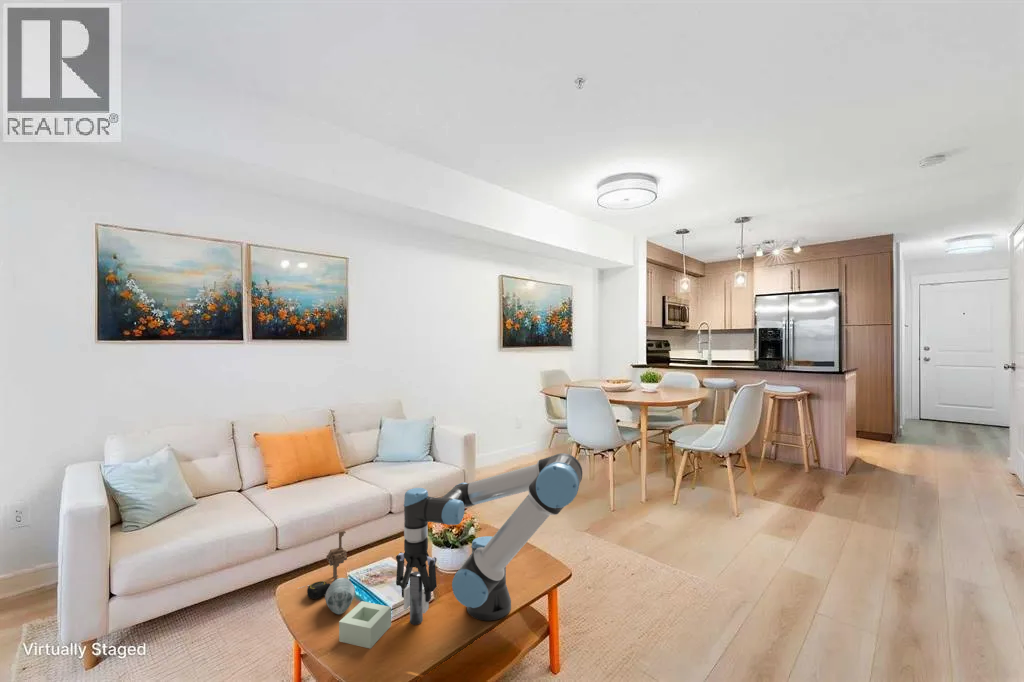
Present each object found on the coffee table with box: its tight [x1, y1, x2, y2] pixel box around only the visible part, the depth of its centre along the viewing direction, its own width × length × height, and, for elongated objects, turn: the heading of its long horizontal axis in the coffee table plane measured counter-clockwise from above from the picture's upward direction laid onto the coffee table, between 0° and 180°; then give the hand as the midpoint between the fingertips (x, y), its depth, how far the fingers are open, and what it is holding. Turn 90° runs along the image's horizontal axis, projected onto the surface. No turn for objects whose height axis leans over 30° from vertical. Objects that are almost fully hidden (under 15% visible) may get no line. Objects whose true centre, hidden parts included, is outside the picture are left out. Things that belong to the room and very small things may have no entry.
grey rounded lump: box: [324, 577, 356, 615], centre depth 150 cm, size 14×10×10 cm
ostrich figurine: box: [297, 530, 348, 589], centre depth 166 cm, size 17×7×18 cm, turn 121°
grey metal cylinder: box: [409, 571, 424, 626], centre depth 143 cm, size 4×4×15 cm
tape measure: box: [307, 580, 332, 600], centre depth 157 cm, size 7×7×4 cm
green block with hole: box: [338, 600, 392, 650], centre depth 137 cm, size 11×11×6 cm
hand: (416, 608), depth 143 cm, fingers open, 6 cm apart
